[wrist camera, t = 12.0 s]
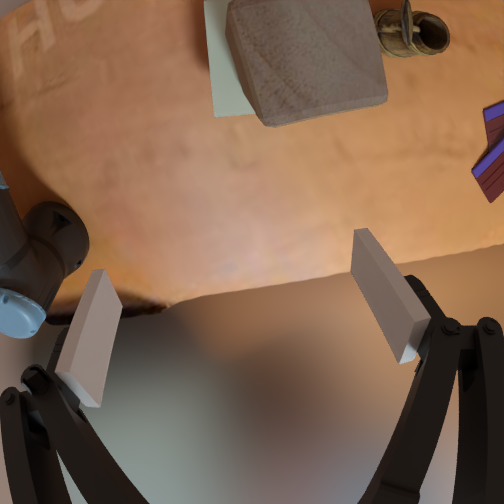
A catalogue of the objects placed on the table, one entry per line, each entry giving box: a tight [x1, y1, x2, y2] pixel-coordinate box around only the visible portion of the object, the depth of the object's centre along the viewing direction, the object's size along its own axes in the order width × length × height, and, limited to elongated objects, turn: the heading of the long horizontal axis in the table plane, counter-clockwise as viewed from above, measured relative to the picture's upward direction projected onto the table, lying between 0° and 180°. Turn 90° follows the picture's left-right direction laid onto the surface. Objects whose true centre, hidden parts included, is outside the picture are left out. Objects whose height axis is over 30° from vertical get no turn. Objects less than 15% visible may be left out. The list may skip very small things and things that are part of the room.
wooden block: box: [225, 0, 388, 127], centre depth 26 cm, size 10×10×20 cm
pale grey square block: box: [204, 0, 256, 117], centre depth 37 cm, size 16×16×8 cm
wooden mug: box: [373, 0, 450, 58], centre depth 30 cm, size 9×14×18 cm, turn 92°
